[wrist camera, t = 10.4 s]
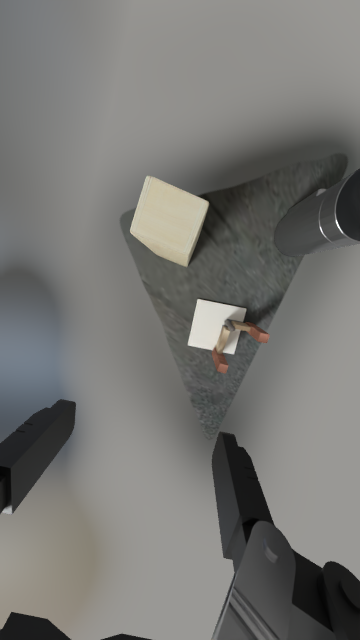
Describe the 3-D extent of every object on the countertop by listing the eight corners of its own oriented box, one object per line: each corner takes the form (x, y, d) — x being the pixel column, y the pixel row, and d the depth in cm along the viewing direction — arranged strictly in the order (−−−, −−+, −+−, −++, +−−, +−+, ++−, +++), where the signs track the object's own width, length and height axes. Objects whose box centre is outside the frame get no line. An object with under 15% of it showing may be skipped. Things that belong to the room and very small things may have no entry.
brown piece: (224, 317, 45) (234, 327, 35) (252, 322, 45) (269, 334, 35) (223, 324, 45) (232, 336, 36) (250, 329, 45) (266, 343, 36)
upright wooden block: (200, 236, 41) (212, 195, 21) (188, 267, 43) (188, 258, 22) (167, 222, 41) (147, 166, 20) (156, 254, 42) (126, 232, 22)
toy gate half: (221, 325, 45) (229, 336, 36) (228, 327, 45) (238, 339, 36) (211, 353, 46) (217, 371, 38) (218, 355, 46) (225, 373, 38)
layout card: (197, 298, 44) (197, 299, 44) (246, 308, 44) (246, 308, 44) (187, 344, 47) (187, 345, 46) (233, 353, 47) (233, 354, 47)
